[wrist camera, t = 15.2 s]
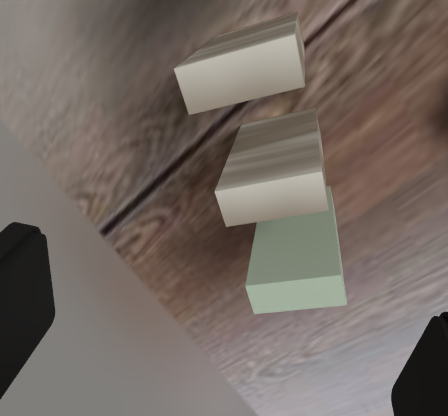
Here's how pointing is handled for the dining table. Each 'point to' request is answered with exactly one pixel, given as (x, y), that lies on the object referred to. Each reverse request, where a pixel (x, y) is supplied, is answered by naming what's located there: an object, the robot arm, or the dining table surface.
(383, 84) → the dining table surface
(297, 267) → the domino
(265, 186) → the domino
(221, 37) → the domino
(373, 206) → the dining table surface
